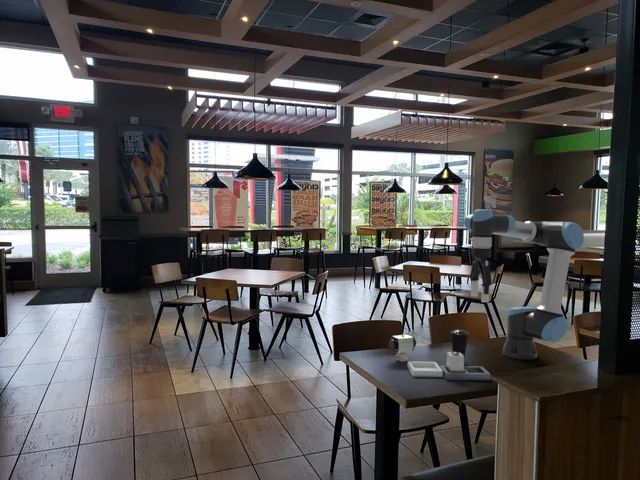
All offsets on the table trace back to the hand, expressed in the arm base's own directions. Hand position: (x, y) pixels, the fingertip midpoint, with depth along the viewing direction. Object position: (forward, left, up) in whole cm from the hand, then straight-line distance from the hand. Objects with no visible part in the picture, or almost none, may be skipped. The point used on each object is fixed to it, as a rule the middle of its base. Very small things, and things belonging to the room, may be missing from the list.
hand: (479, 299), depth 200 cm
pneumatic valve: (+28, -17, -32) cm, 46 cm away
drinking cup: (+3, -16, -32) cm, 36 cm away
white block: (+10, +2, -32) cm, 33 cm away
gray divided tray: (+6, +2, -32) cm, 32 cm away
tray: (+21, -2, -32) cm, 38 cm away
